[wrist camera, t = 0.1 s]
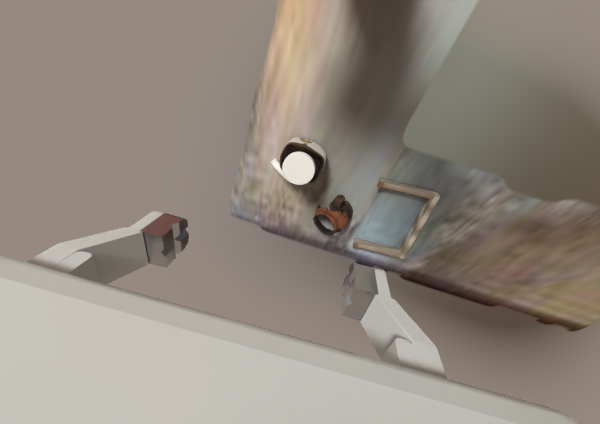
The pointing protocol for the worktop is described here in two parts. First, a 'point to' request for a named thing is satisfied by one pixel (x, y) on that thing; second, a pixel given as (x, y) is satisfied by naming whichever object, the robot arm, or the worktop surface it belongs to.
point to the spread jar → (301, 161)
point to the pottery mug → (334, 215)
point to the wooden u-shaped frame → (417, 225)
